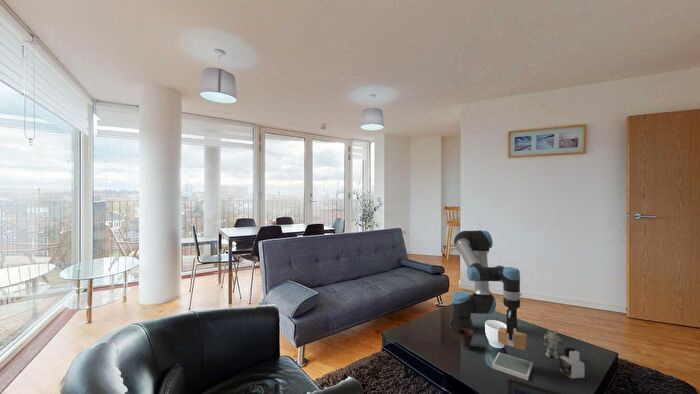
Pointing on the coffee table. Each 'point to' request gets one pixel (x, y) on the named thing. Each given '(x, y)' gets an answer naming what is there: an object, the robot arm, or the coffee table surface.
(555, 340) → the figurine
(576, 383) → the coffee table surface
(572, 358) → the medicine bottle
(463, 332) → the cup
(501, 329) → the tan rectangular pillar
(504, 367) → the framed panel
